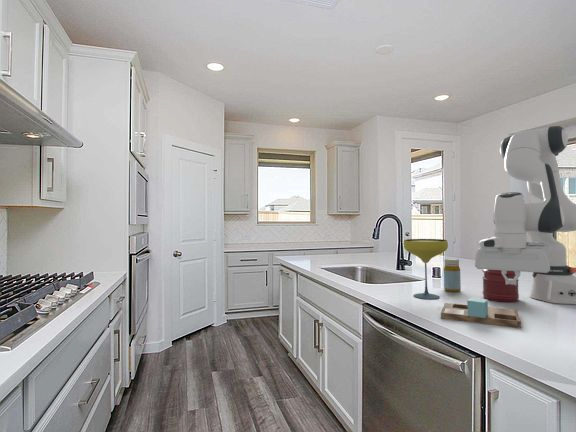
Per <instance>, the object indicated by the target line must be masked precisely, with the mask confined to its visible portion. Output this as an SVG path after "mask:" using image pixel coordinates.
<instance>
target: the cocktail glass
mask: <svg viewBox="0 0 576 432" xmlns="http://www.w3.org/2000/svg"><path fill="white" fill-rule="evenodd" d="M403 247H404V249H405V250H406V251H407V252H408V253H410V254H412V255H413V256H415V257H417V258H419V259H420V260H421V261H422V263H424V273H425V274H424V275H425V276H424V283H425V284H424V286H425V287H424V292H423V293H422V292H420V293H419V292H418V293H415V294H413V297H414V298H417V299H420V300H427V301H428V300H430V301H431V300H439V299H440V298H441V296H440V295H438V294H433V293H430V292H429V289H428V275H427V274H428V272H427V264H428V263H429V262H430V261H431V260H432V259H433V258H434V257H437V256H438V255H439V256H440V255H442V254H443V253H444V252H445V251H447V249H448V247H449V244H448V240H446V239H439V238H438V239H437V238H410V239H404V240H403Z"/></svg>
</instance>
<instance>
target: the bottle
mask: <svg viewBox="0 0 576 432" xmlns="http://www.w3.org/2000/svg"><path fill="white" fill-rule="evenodd" d="M443 286H444V287H443V288H444V290H445V292H451V293H459V292H461V288H462V287H461V268H460V259H459V258H453V257H449V258H447V257H445V258H444V267H443Z"/></svg>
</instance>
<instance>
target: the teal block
mask: <svg viewBox="0 0 576 432" xmlns="http://www.w3.org/2000/svg"><path fill="white" fill-rule="evenodd" d="M488 301H489V300H488V299H486V298H477V297H470V298H469V299H467V303H466V305H468V315H469V316H475V317H481V318H485V317H486V316H487V315H488V307H489V305H488V304H489V302H488Z"/></svg>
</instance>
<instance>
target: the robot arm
mask: <svg viewBox="0 0 576 432" xmlns="http://www.w3.org/2000/svg"><path fill="white" fill-rule="evenodd" d="M568 142H569V136H568V133H567V131H566V130H565V128H564V127H563V126H561V125H550V126H549V127H541V128H537V129H530V130H529V129H524V130H520V131H517V132H515V133H514V134H513V135H510V136H509V135H508V136H507V137H505V138H503V140H502V141H501V142H500V146H499V152H500V155H501V156H502V157H501V158H502V159H503V160H504V170H505V172H506V173H507V175H509V176H510V177H512V178H513V179H516V180H519V181H523V182H526V187H527V192H528V194H529V195H530V196H531V197H534V198H537V199H538V200H539V202H525V196H524V194H523V193H522V192H514V191H513V192H503V193H499V194H497V195H496V196H495V201H494V207H493V224H494V225H495V226H494V227H495V228H494V231H493V236H492V237H487V238H485V239H480V240H479V241H478V246H479V248H477V250H476V254H475V261H474V266H475V269H476V270H477V269H478V270H483V269H487V270H501V273H502V275H503V277H504V278H505V283H506V285H516V280H517V279H518V280H519V277H520V276H521V273H522V272H526V273H531V276H532V284H531V289H530V293H529V298H531V299H534V300H535V299H536V300H538V301H539V300H540V301H544V302H548V303H551V304H561V305H576V276H575V275H574V274H576V268H575V267H571V266H569V265H568V264H567V247H566V246H565V245H564V244H563V243H562V242H560V241H558V240H556V239H555V238H554V236H553V235H552V234H554V233H556V232H557V233H567V232H568V233H569V232H576V203H574V202H573V201H572V200H571V199H570V198H569V197H568V196H567V195H566V193H565V191H564V189H563V186H562V182H561V177H560V168H559V165H558V160H557V158H556V157H557V156H559V154H560V153H562V152H564V151H565V149H566V148H567V145H568ZM527 238H528V239H527ZM527 240H529V241H527ZM507 271H515V274H516V276H515V277H514V279H508V278H507V277H506V275H505V274H507Z"/></svg>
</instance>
